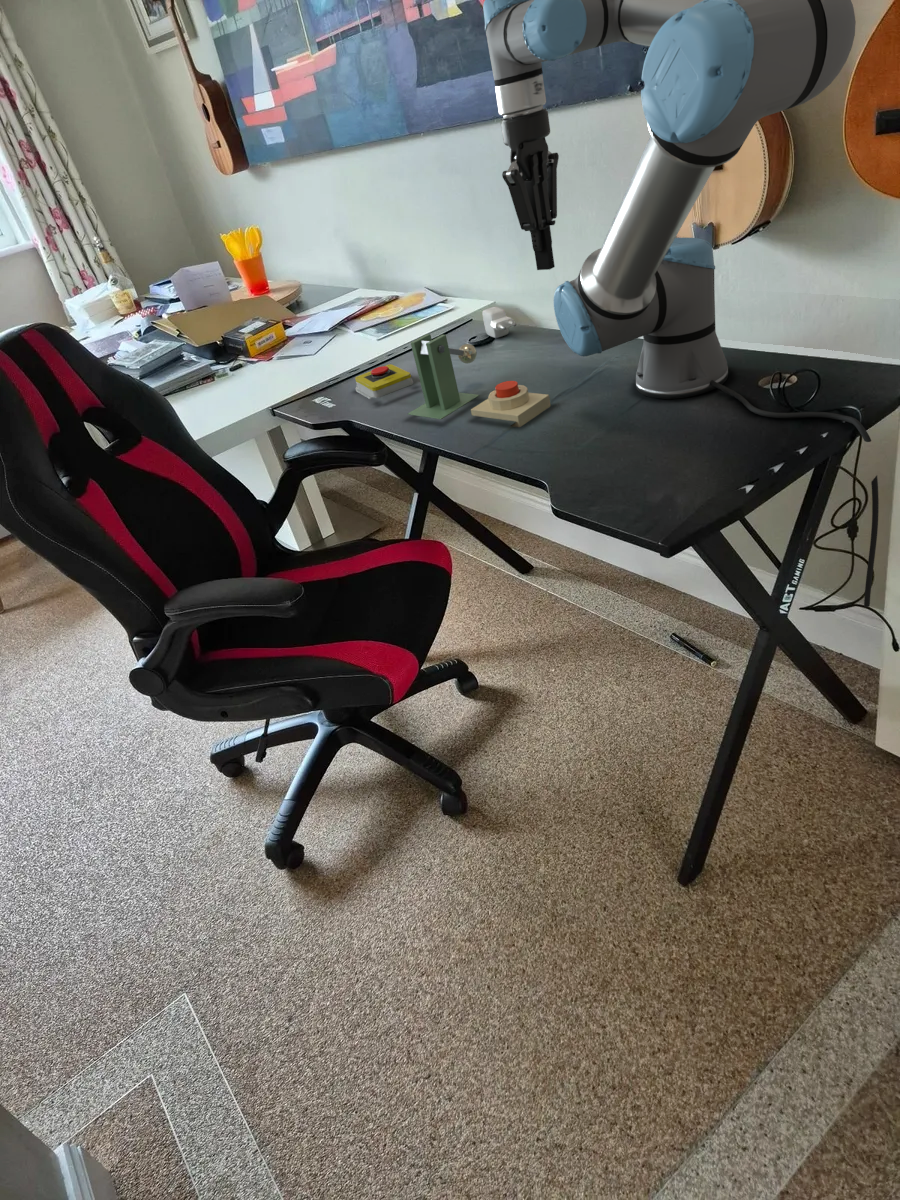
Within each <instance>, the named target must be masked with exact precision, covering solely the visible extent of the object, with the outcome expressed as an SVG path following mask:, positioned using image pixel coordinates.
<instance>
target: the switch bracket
mask: <svg viewBox="0 0 900 1200" xmlns="http://www.w3.org/2000/svg"><path fill="white" fill-rule="evenodd" d="M421 341H430V342H428V343H426V346H427V350H428V355H422V354H420V353H421ZM410 346H411V351H412V355H413V358H414V362H415V367H416V371H417V375H418V379H419V382H420V387H421V390H422V395H423V399H424V403H423V404H421V405H419V406H418V407H417V408H414V409H413V410H411V411H409V412H408V413H407V415H408V416H414V417H415V416H417V417H423V418H429V419H435V420H442V419H444V418H446V417H447V416H449V415H451V414H452V413H454V412H456V411H458V409H460V408H461V407H463V406H465V405H467V404H469V402H471V401H473V400H474V399H476V398H478V397H479V396H480V394H475V393H467V392H459V388H458V384H457V379H456V374H455V370H454V366H453V365H454V364H453V361H452V356H451V354H450V351H449V348H450V346H449V343H448V339H447V334H440V335H439V336H437V337H435V338H434V339H432V335H431V334H430V333H426V334H424V335H422V336H420V337H418V338H416V339H415V340H412V341H411V342H410Z"/></svg>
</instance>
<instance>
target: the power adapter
mask: <svg viewBox="0 0 900 1200" xmlns="http://www.w3.org/2000/svg"><path fill="white" fill-rule="evenodd" d="M481 315H482V319H483V324H484V329H485V333H486V335H487V336H490V337H492V338H495V339H498V338H502V337H503V336H504V337H505V336H506V335H508V334H509V331H510V329H509V328H510V327H517V323H516V322H515V319H513V318H512V317H510V316H507V313H506V311H505V309H504V308H502V307H500V306H491V307H488V308H486V309H484V310H482V314H481Z"/></svg>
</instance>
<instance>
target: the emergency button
mask: <svg viewBox="0 0 900 1200" xmlns="http://www.w3.org/2000/svg"><path fill="white" fill-rule="evenodd" d="M413 380H414V379H413V378H412V375H411V372H410V371H407V370H404V369H403V368H401V367H398V366H397V365H394V364H392V363H390V364H389V363H388V364H386V365H383V366H382V365H381V366H378V367H375V368H373V369H372V370H370V371H367V372H365V373H362V374H360V375H357V376H355V383H356V387H355V391H356V392H357V393H358V394H359V395H362V396H363V397H365V398H367V400H371V399H372V398H375V399H377V398H381V397H383V396H386V395H388V394H391V393H394V392H397V391H399V390H402V389H404V388H407V387H410V386H412V385H414V381H413Z"/></svg>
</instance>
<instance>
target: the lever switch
mask: <svg viewBox="0 0 900 1200" xmlns="http://www.w3.org/2000/svg"><path fill="white" fill-rule="evenodd" d="M428 342H430V341H421V353H420V354H422V355H428V350H427V346H426V343H428ZM449 351H450V355H454V356H457V357H458V359H459V361H460V362H461V363H463V364H471V363H473V362H475V360H476V359H477V354H478V353H477V348H476V347H475V346H474V345H473V344H471V343H464V344H462V345H460V347H459V348H458V349H457V348H450V347H449Z"/></svg>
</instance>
